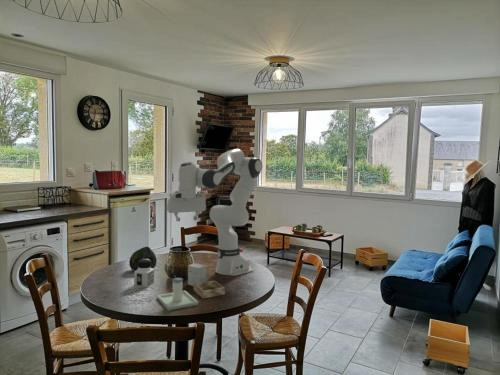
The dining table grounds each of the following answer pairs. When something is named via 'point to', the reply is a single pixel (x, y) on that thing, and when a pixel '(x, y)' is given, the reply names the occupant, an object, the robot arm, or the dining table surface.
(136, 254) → the squash
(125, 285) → the dining table surface
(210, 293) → the open wooden frame
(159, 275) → the dining table surface
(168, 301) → the tray
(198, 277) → the small box
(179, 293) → the canister
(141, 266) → the container
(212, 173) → the robot arm
